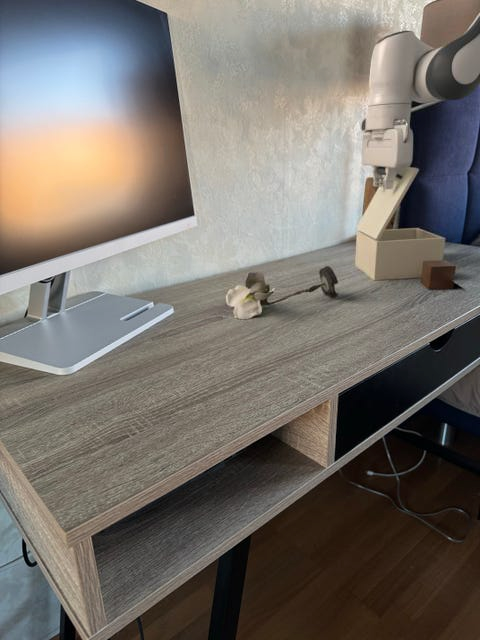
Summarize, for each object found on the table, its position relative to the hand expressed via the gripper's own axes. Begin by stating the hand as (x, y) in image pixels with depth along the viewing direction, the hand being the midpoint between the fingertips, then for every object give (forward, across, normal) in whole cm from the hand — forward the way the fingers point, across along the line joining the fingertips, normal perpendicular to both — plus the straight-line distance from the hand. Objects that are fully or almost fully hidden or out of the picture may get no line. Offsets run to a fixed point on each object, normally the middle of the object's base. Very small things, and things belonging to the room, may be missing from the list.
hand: (382, 187), depth 100 cm
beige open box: (+20, 0, -5) cm, 20 cm away
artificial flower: (+20, -20, +26) cm, 39 cm away
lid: (+3, 0, -1) cm, 3 cm away
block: (+20, +27, -10) cm, 35 cm away
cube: (+20, -14, -8) cm, 25 cm away
